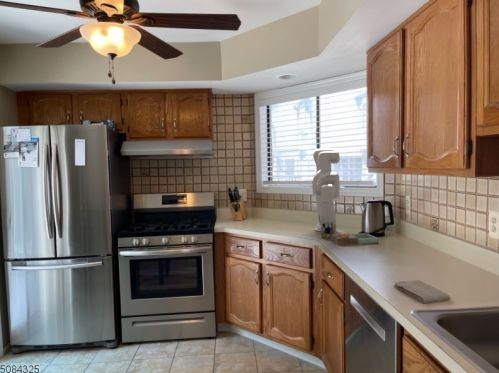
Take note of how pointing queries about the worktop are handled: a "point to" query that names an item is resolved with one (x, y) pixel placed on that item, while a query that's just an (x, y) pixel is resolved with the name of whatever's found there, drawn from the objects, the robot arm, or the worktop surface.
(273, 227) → the worktop surface
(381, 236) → the worktop surface
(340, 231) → the grey tile
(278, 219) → the worktop surface
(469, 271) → the worktop surface
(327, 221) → the robot arm
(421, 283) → the washcloth
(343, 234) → the terracotta block
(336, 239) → the walnut board
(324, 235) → the chalk box
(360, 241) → the box
